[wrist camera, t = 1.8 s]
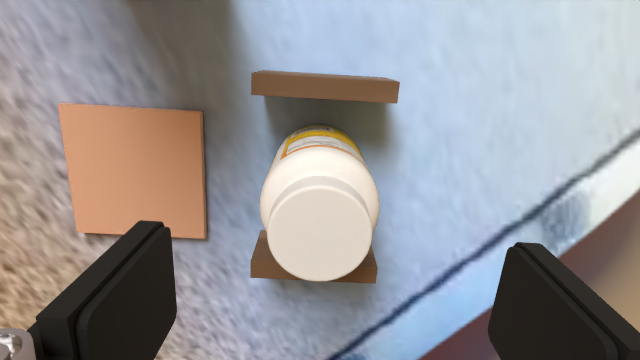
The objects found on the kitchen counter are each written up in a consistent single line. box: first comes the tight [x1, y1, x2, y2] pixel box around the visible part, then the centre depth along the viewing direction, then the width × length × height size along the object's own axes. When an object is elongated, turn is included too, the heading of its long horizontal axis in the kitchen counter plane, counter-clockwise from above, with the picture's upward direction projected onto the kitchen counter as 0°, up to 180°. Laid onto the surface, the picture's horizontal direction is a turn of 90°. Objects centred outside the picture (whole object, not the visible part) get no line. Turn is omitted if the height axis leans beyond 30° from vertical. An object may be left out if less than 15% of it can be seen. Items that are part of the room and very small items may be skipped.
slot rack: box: [251, 70, 400, 283], centre depth 21 cm, size 11×7×4 cm, turn 177°
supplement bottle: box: [260, 124, 380, 281], centre depth 19 cm, size 5×5×10 cm
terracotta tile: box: [58, 103, 207, 239], centre depth 23 cm, size 8×8×1 cm
